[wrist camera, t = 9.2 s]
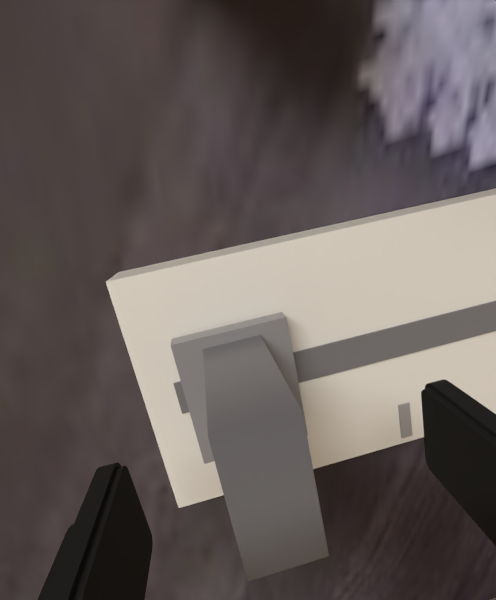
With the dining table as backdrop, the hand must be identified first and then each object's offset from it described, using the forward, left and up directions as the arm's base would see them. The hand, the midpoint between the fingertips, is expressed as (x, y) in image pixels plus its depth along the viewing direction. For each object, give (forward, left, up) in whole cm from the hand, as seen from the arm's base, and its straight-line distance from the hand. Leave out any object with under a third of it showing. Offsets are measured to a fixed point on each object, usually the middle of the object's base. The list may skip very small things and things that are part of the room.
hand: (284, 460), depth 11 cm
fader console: (-7, 0, -9) cm, 11 cm away
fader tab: (+1, 0, -6) cm, 6 cm away
